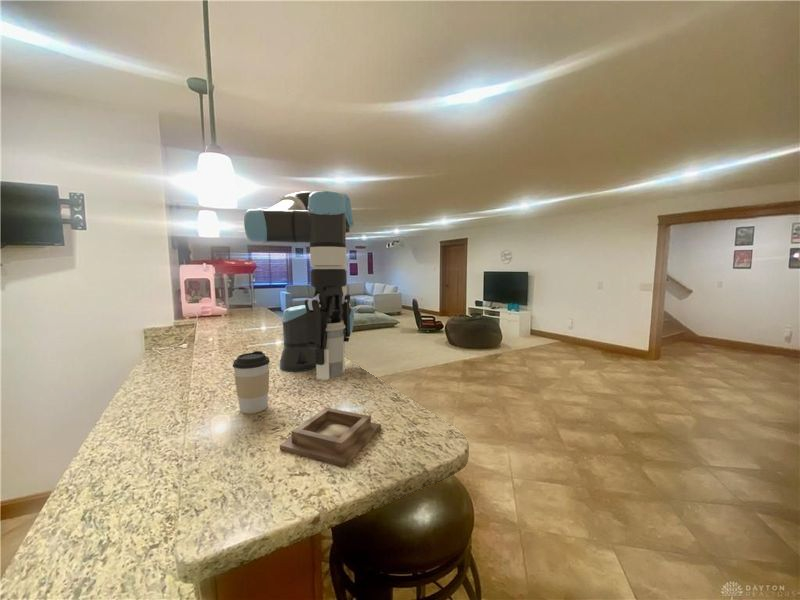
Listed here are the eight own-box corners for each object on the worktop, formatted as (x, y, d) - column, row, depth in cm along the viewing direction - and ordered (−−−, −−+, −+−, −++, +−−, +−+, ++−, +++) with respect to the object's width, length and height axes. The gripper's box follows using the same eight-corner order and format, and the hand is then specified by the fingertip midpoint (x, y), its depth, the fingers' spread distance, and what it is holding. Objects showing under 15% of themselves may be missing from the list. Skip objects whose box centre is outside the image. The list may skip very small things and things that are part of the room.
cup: (314, 371, 73) (313, 319, 72) (344, 368, 75) (343, 318, 74) (316, 382, 66) (314, 325, 65) (348, 378, 68) (347, 323, 67)
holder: (324, 416, 82) (324, 403, 82) (380, 428, 76) (380, 414, 76) (279, 449, 68) (279, 433, 67) (344, 467, 62) (344, 450, 61)
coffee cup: (258, 416, 82) (255, 360, 81) (227, 413, 84) (224, 358, 82) (278, 402, 91) (276, 350, 89) (250, 399, 93) (247, 349, 91)
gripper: (337, 267, 78) (339, 360, 80) (283, 268, 61) (288, 386, 63) (364, 267, 75) (366, 364, 77) (316, 268, 58) (320, 391, 61)
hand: (331, 373), depth 70 cm, fingers closed on cup, 5 cm apart
